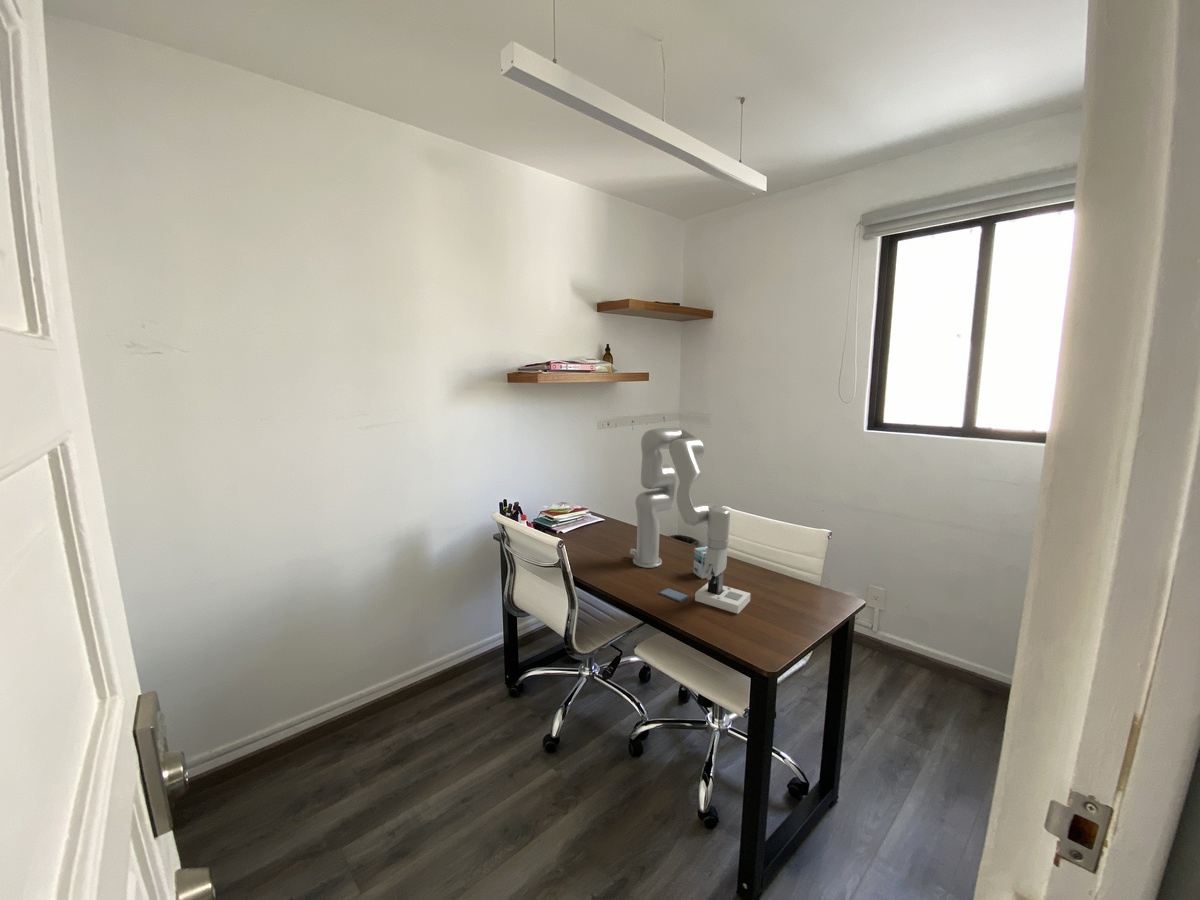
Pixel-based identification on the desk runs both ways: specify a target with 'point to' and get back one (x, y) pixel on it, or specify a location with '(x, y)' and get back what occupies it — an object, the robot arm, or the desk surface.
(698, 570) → the light bulb box
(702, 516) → the robot arm
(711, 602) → the outlet plate
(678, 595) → the phone
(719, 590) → the charger
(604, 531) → the desk surface
